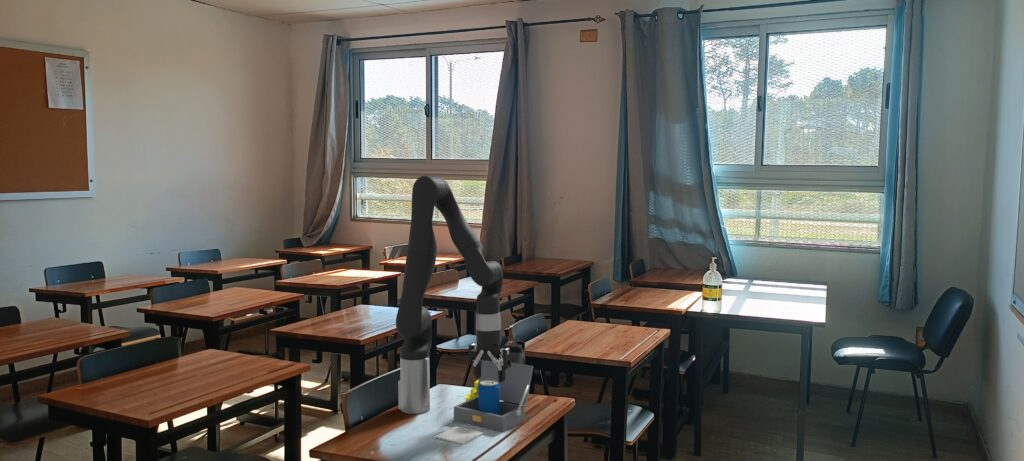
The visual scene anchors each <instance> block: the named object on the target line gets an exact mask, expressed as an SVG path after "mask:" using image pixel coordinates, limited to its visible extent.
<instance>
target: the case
mask: <svg viewBox="0 0 1024 461" xmlns="http://www.w3.org/2000/svg"><path fill="white" fill-rule="evenodd" d="M480 365H481V378H478V379H479V380H478V379H477V380H478V385H477V391H476V395H477V396H479V394H478V387H479V385H480V382H481V381H484V380H495V381H498V370H499V369H498V367H497V366H496V365H495V364H494V362H493V361H492V362H491V361H488V360H486V361H485V360H483V361H482V363H481V364H480ZM533 370H534V365H528V364H525V365H524V364H518V363H512V362H511V367H510V368H507V369H506V370H505V380H504V382H501V383H500V382H498V384H499V386H500V415H496V414H491V413H487V412H482V411H479V397H475V398H472V399H470V400H468V401H466V400H465V401H463V402H461V403H459V404H457V405H454V406H453V422H455V423H459V424H460V423H461V424H465V425H469V426H474V427H478V428H482V429H486V430H490V431H495V432H498V433H505V432H507V431H508V430H510V429H513V428H514V427H515V426H517V425H519V424H521V423H523V422H525V417H526V416H525V413H526V412H525V410H526V409H525V408H526V407H525V406H527V404H528V399H529V393H530V387H531V381H532V376H533ZM504 401H507V402H512V403H517V404H519V405H516V404H511V403H506V402H504Z"/></svg>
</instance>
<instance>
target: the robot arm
mask: <svg viewBox="0 0 1024 461" xmlns="http://www.w3.org/2000/svg"><path fill="white" fill-rule="evenodd" d="M435 208H436V209H437V210H438V211H439V213H440V214H441V215H442V216H443V218H444V221H445V223H446V226H447V229H448V232H449V237H450V239H451V241H452V243H453V245H454V246H455V248H456V250H458V252H459V254H460V256H461V257H462V258H463V261H464V263H465V266H466V269H467V271H468V274H469V277H470V278H471V279H472V281H473V282H474V284H476V285H477V286H480V287H481V291H480V292H479V293H478V294H477V296H476V319H475V329H476V330H475V331H476V333H475V334H476V336H475V337H476V343H471V344H469V345H468V351H467V352H468V354H467V355H468V357H467V363H468V364H471V365H472V366H473V375H474V377H475V379H477V380H478V379H479V378H481V365H482V361H483V360H485V361H486V360H488V361H491V362H492V361H493V362H494V364H495V365H496V366H497V367H498V369H499V370H498V382H500V383H501V382H504V380H505V370H506V369H507V368H510V367H511V355H510V348H506V349H504V347H503V348H502V346H501V343H502V318H501V310H500V309H501V308H500V306H501V304H500V303H501V302H500V297H501V292H502V287H503V280H504V272H503V268H502V266H501V264H500V263H499V262H497V261H495V260H489V261H486V260H485V258H484V255H483V253H484V252H485V248H484V246H483V244H482V243H481V241H480V239H479V238H478V236H477V235H476V233H475V232H474V230H473V229H472V228H471V226H470V225H469V222H468V221H467V219H466V218H465V215H464V214H463V212H462V210H461V208H460V206H459V204H458V202H457V200H456V198H455V195H454V193H453V191H452V189H451V187H450V185H449V183H448V181H447V180H446V179H445V178H444V177H442V176H438V175H422V176H419V177H418V178H416V180H415V181H414V183H413V185H412V190H411V218H410V227H409V234H408V235H409V236H408V244H407V249H406V256H405V264H404V265H405V266H404V274H403V281H402V288H401V289H402V291H401V296H400V301H399V304H398V309H397V313H396V317H395V327H396V328H395V329H396V331H397V333H398V334H399V335H400V336H401V337H402V338H403V339H404V342H403V344H402V346H401V348H400V351H399V359H400V362H399V363H400V367H399V369H400V370H399V371H400V379H399V380H398V382H397V386H398V388H397V389H398V390H397V392H398V393H397V394H398V395H397V396H398V397H397V398H398V401H397V402H398V410H400V411H401V412H402V413H404V414H409V415H415V414H416V415H419V414H423V413H427V412H429V411H430V410H431V397H430V396H431V394H430V393H431V390H430V389H431V388H430V386H431V384H430V380H431V378H430V376H431V374H430V371H431V370H430V351H431V347H432V339H433V338H432V337H433V320H432V315H431V313H430V311H429V310H428V309H427V307H425V306H423V303H424V302H423V301H424V297H425V295H426V294H425V293H426V291H427V288H428V287H429V284H430V282H431V280H432V277H433V273H435V272H434V271H435V267H436V260H437V255H438V245H437V241H436V236H435V232H434V228H433V219H434V218H433V216H434V211H435ZM477 353H478V354H477Z"/></svg>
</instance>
